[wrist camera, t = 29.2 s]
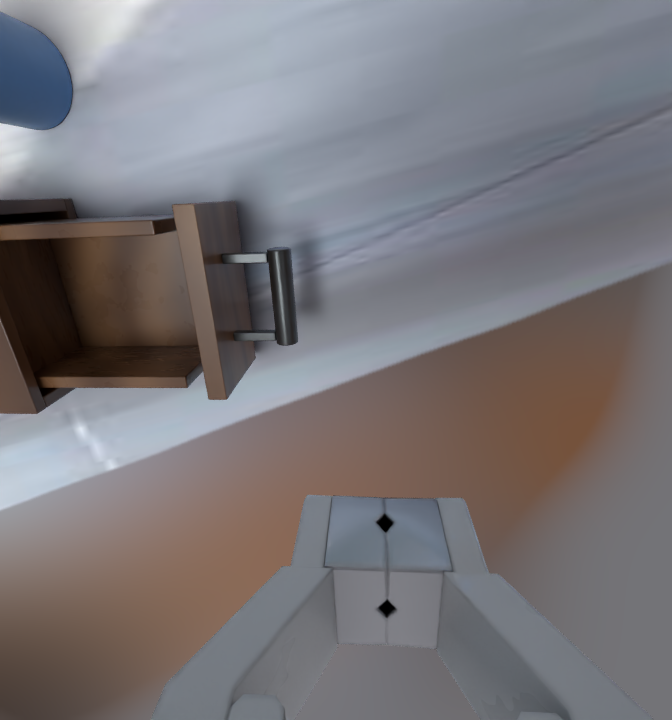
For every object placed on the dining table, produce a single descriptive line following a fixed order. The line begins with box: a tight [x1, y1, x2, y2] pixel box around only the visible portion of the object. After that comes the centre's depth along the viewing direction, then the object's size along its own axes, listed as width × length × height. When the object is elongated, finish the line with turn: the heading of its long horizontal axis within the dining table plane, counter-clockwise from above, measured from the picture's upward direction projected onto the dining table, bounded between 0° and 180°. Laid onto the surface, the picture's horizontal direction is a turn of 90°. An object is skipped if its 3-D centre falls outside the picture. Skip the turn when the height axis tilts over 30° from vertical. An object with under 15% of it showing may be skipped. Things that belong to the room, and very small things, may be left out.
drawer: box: [0, 201, 298, 400], centre depth 26 cm, size 18×11×7 cm, turn 92°
